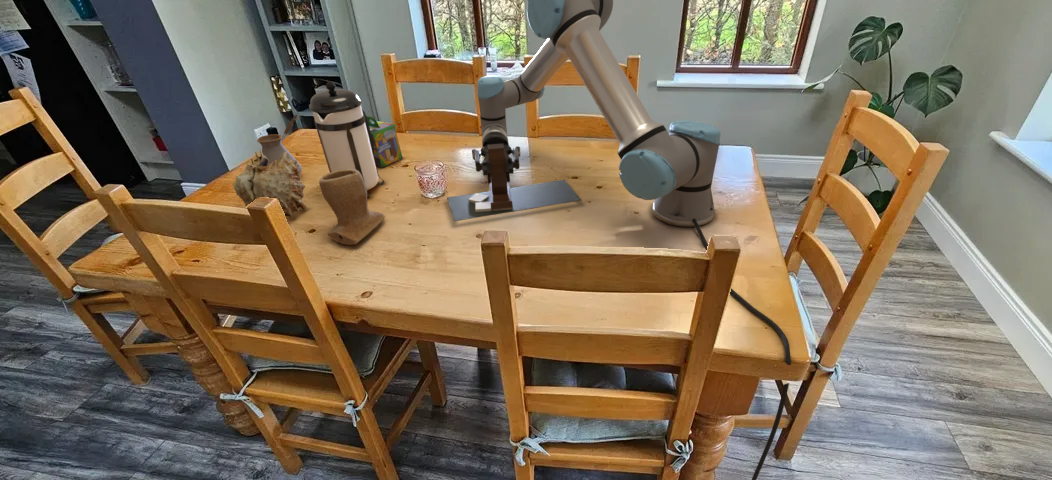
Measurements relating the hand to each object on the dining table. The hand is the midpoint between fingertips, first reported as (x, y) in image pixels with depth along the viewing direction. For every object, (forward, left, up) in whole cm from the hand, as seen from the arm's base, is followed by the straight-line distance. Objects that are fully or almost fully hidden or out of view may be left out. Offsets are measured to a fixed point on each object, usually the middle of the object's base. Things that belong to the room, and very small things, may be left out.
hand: (498, 177), depth 121 cm
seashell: (+20, +56, -11) cm, 60 cm away
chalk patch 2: (+3, +4, -9) cm, 10 cm away
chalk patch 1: (+8, +5, -9) cm, 13 cm away
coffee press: (+30, +36, -11) cm, 48 cm away
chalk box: (+49, +29, -11) cm, 58 cm away
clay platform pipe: (+4, +37, -11) cm, 38 cm away
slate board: (+5, -4, -11) cm, 13 cm away
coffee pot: (+49, +56, -11) cm, 75 cm away
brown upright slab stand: (+5, -1, -9) cm, 10 cm away
